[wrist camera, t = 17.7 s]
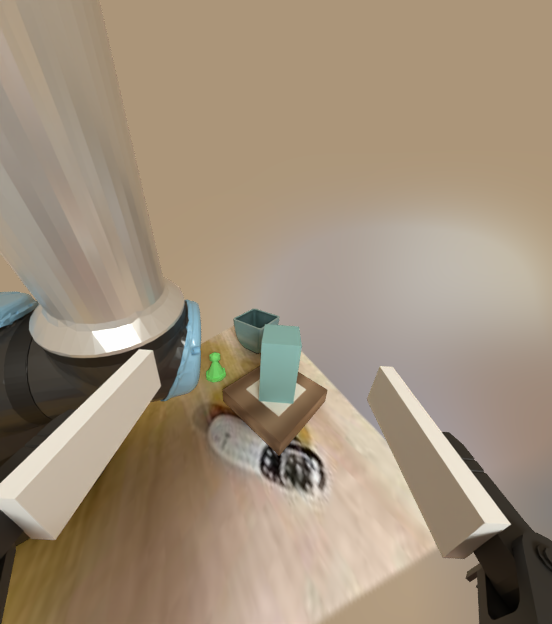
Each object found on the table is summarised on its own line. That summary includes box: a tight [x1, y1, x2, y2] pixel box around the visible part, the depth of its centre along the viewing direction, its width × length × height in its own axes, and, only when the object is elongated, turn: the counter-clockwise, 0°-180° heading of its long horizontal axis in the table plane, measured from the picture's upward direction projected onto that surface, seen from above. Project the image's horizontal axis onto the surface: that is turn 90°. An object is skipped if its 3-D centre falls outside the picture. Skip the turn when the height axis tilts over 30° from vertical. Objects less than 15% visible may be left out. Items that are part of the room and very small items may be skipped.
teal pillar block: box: [259, 324, 302, 404], centre depth 35 cm, size 6×6×12 cm
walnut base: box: [223, 365, 327, 455], centre depth 38 cm, size 14×14×3 cm
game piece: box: [206, 352, 226, 382], centre depth 43 cm, size 4×4×6 cm
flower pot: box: [233, 309, 279, 353], centre depth 53 cm, size 9×9×9 cm
